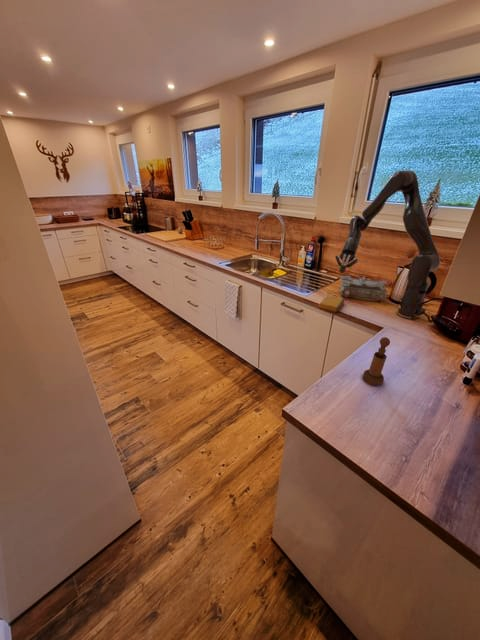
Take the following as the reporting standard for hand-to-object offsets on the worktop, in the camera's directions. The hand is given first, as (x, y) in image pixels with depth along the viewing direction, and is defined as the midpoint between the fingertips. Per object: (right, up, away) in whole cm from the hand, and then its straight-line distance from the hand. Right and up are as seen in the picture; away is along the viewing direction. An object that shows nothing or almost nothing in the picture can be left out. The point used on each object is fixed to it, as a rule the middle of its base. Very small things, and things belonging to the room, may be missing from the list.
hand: (341, 272), depth 151 cm
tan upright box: (-3, -15, +4) cm, 16 cm away
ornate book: (+18, -12, +14) cm, 26 cm away
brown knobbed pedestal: (-11, -50, -56) cm, 76 cm away
